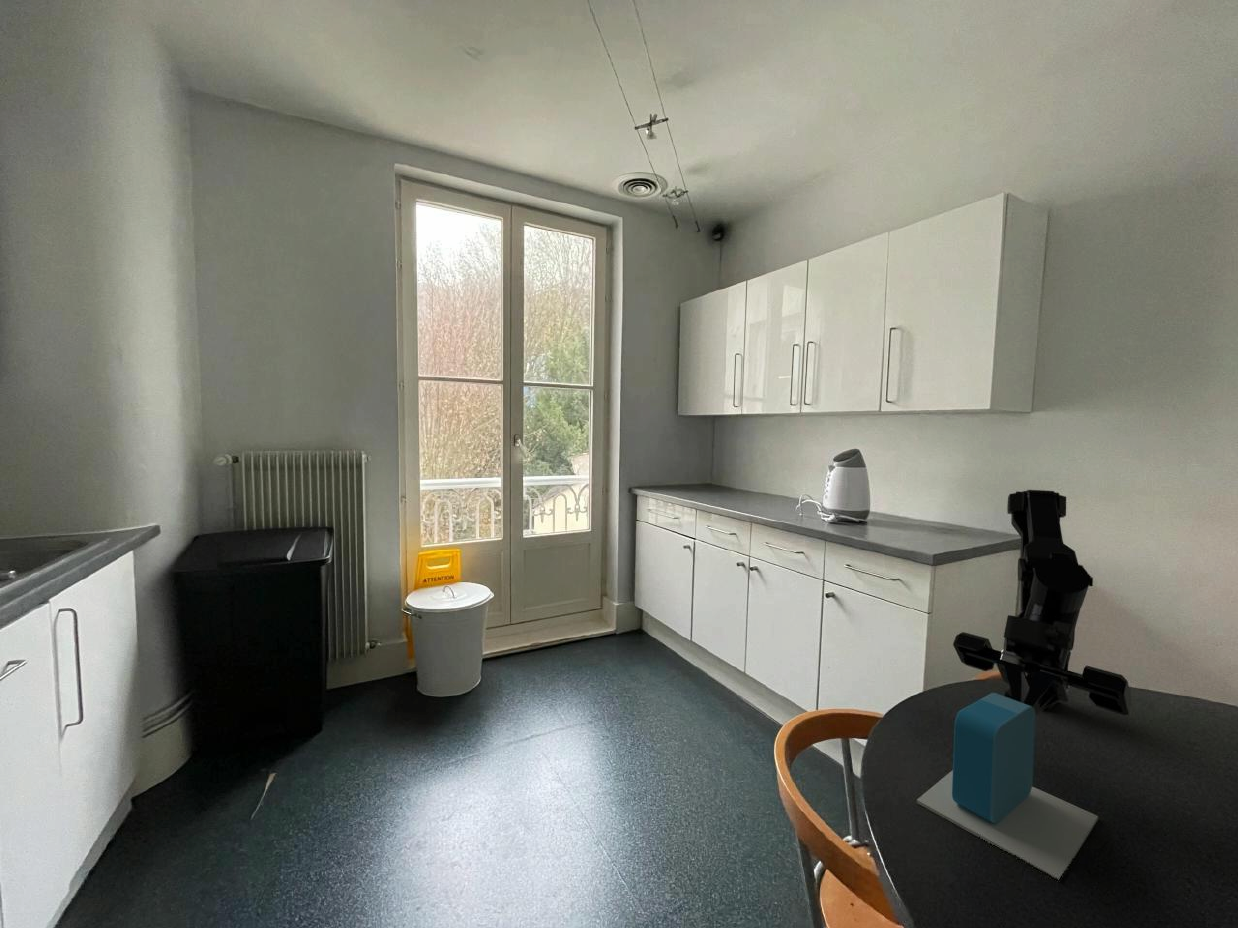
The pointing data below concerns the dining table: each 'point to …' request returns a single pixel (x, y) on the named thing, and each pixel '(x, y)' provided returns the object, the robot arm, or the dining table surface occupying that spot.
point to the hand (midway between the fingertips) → (1018, 723)
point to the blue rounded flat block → (993, 756)
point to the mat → (1021, 826)
